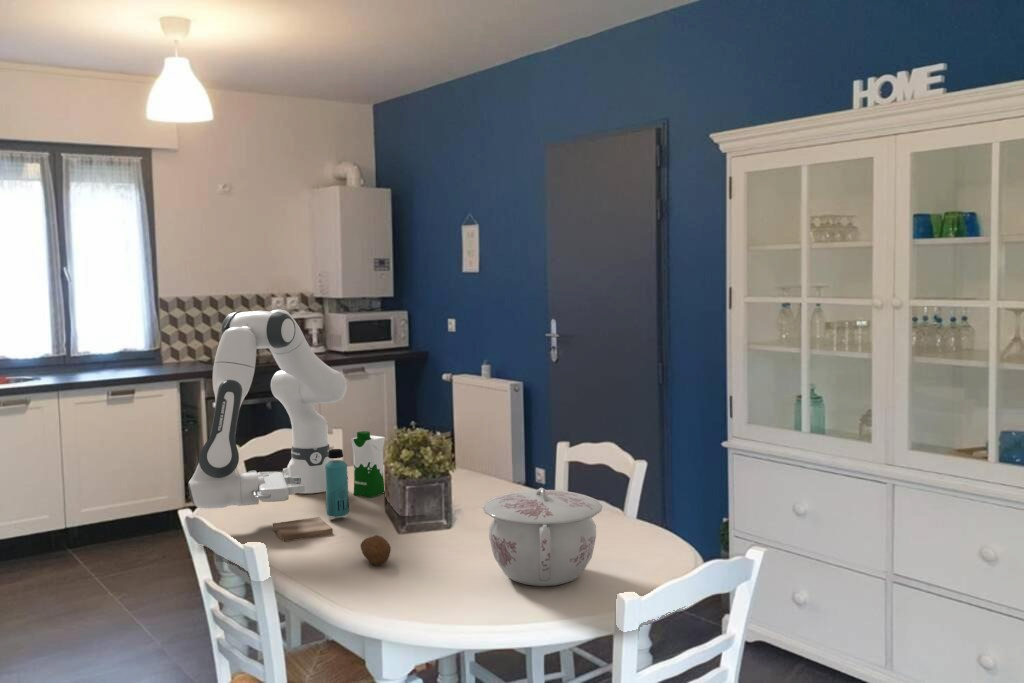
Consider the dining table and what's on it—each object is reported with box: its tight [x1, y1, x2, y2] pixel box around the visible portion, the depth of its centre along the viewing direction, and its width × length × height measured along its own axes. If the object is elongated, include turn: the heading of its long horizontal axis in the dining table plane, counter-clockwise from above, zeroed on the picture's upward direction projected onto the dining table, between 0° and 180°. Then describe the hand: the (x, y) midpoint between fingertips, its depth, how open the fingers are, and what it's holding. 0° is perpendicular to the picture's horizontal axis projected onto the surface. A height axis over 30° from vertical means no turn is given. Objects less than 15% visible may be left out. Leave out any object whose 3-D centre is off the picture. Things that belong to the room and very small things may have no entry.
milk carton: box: [350, 430, 386, 499], centre depth 283 cm, size 9×9×20 cm
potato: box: [360, 534, 392, 566], centre depth 218 cm, size 7×12×7 cm, turn 36°
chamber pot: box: [481, 487, 603, 587], centre depth 207 cm, size 28×28×21 cm
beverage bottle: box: [324, 448, 350, 518], centre depth 256 cm, size 6×7×20 cm
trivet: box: [272, 516, 334, 542], centre depth 245 cm, size 13×13×2 cm
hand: (302, 484), depth 253 cm, fingers open, 8 cm apart
